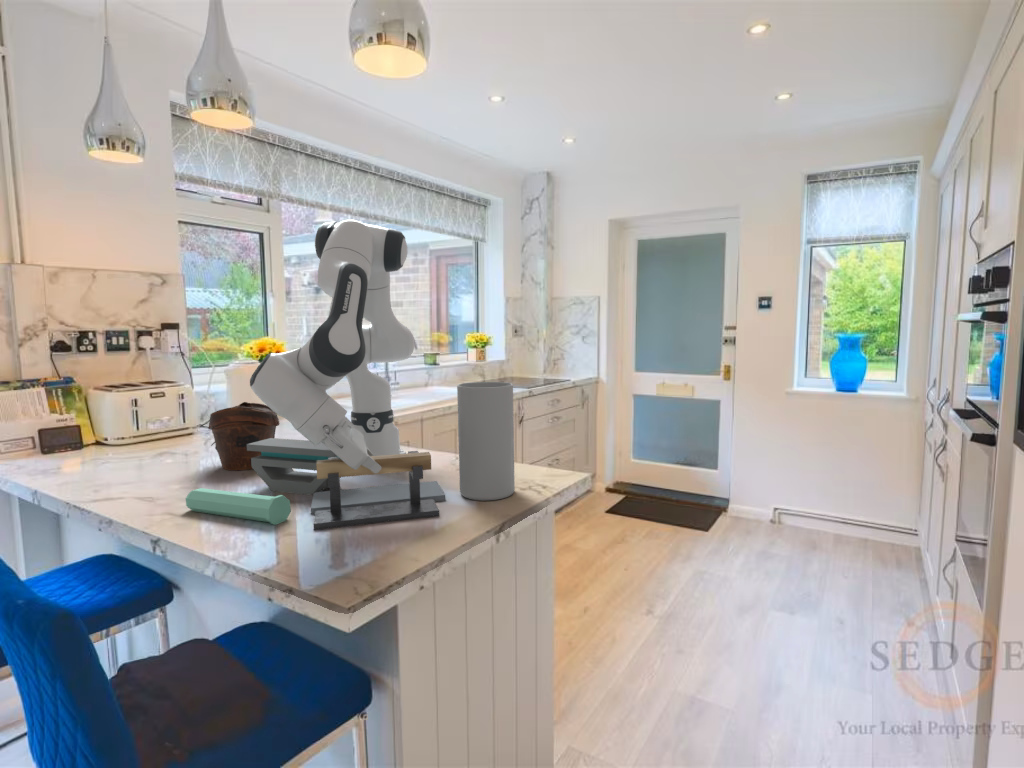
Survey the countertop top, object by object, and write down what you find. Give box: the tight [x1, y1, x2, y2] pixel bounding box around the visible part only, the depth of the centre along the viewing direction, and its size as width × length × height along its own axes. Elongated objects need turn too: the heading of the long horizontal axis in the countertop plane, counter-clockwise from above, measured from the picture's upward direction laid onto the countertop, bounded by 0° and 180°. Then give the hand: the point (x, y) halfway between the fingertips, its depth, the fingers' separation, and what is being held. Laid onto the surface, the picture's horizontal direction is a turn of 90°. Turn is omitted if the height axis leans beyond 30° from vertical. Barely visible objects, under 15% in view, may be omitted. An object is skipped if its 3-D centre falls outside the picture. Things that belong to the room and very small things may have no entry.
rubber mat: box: [310, 480, 446, 515], centre depth 126 cm, size 12×28×1 cm, turn 107°
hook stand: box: [313, 450, 440, 531], centre depth 114 cm, size 8×24×12 cm, turn 107°
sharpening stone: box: [247, 438, 342, 496], centre depth 135 cm, size 25×8×11 cm, turn 70°
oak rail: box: [316, 451, 432, 479], centre depth 113 cm, size 3×22×3 cm, turn 106°
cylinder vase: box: [456, 381, 516, 502], centre depth 128 cm, size 12×12×25 cm
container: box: [185, 487, 292, 526], centre depth 116 cm, size 6×6×25 cm
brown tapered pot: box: [208, 401, 280, 471], centre depth 160 cm, size 18×20×18 cm
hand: (378, 467), depth 113 cm, fingers closed on oak rail, 3 cm apart
